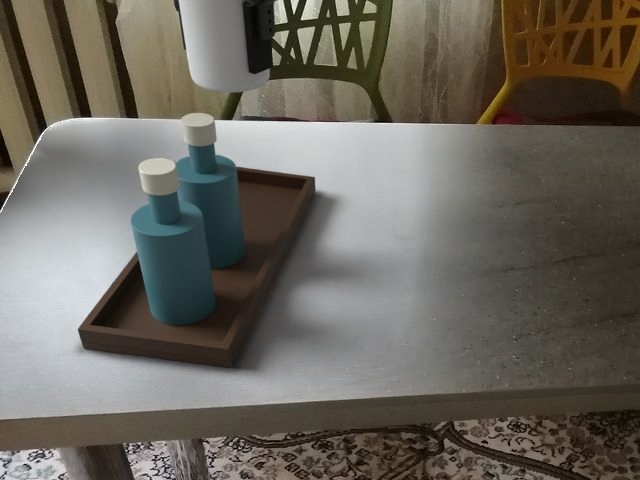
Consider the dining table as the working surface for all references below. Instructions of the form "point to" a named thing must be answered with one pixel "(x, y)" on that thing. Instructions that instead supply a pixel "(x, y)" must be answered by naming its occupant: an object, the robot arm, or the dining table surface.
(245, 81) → the pill bottle
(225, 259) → the bottle
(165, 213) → the bottle
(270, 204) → the tray
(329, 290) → the dining table surface
